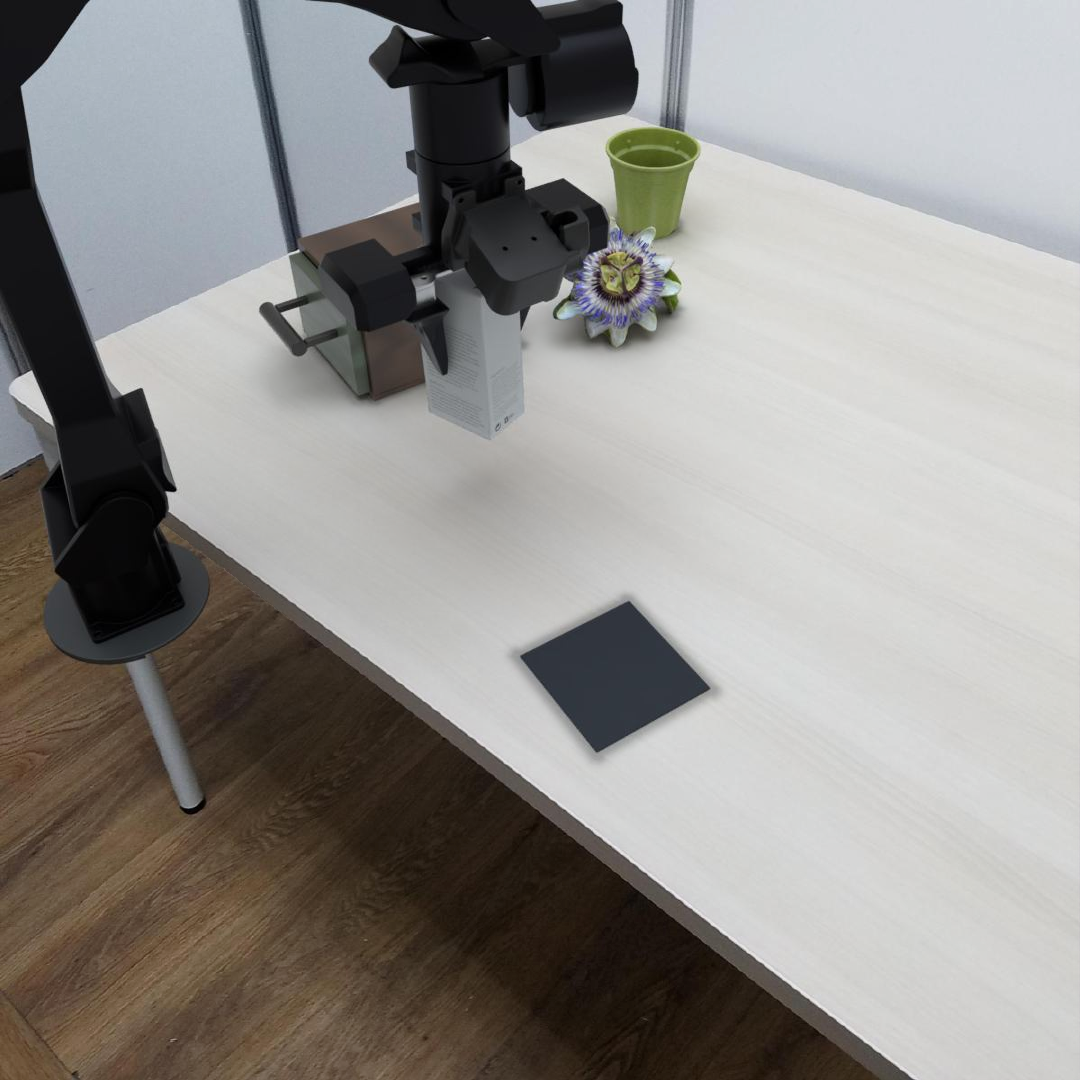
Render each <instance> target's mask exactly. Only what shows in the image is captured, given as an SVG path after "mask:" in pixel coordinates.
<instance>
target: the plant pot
mask: <svg viewBox="0 0 1080 1080" xmlns="http://www.w3.org/2000/svg"><path fill="white" fill-rule="evenodd" d="M604 146H605V149H604V150H605V153H606V155H607V157H608V158H609V163H610V167H611V169H612V173H613V183H614V189H615V190H614V191H615V200H616V201H615V202H616V211H617V220H618V221H617V222H618V228H619V229H621V230H623V231H624V232H623V234H625V235H626V236H628V235H629V234H631V233H632V232H634V231H637V232H639V231H641V230H643V229H646V228H648V227H654V228H655V230H656V235H655V238H654V239H653V240H661V239H663V238H667V237H669V236H670V235H671V234H672V233H673V232H674V231H676V230H677V228H678V224H679V220H680V216H681V212H682V207H683V204H684V200H685V199H684V198H685V195H686V190H687V186H688V182H689V178H690V174H691V172H692V171H693V169H694V166H695V162H696V161H697V160H698V159H699V158H700V155H701V151H702V147H701V144H700V143H699V141H698V140H697V139H696V138H695V137H693V136H692V135H691V134H688V133H686V132H684V131H681V130H678V129H673V128H668V127H660V126H659V127H658V126H642V127H634V128H633V127H632V128H627V129H624V130H621V131H619V132H616V133H615V134H614V135H612V136H610V137H609V138H608V139H607V141H606V143H605V145H604Z"/></svg>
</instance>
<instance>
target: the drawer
mask: <svg viewBox="0 0 1080 1080" xmlns="http://www.w3.org/2000/svg"><path fill="white" fill-rule="evenodd" d="M288 259H289V264H290V269H291V275H292V279H293V284H294V289H295V295H296V297H294V298H292V299H289V300H286V301H282V302H280V303H279V302H278V303H276V304H274V303H273V302H270V301H265V302H263V303H262V304H261V305H260V306H259V308H258V313H259V315H260V316H261V317H262V318H263V320H264V321H265V322H266V324H267V325H268V326H269V327H270V328H271V329H272V331H273V332H274V333H275V334H276V336H277V337H278V338H279V340H281V342H282V343H283V344H284V346H285V347H286V348H287V349H288V351H290V353H291V354H292V355H293V356H294V357H298V358H299V357H302V356H304V355H305V354H306V353H307V352H308V349H309V348H312V347H316V348H317V349H318V351H320V353H321V354H322V355H323V356H324V358H325V359H326V360H327V361H328V362H329V363H330V364H331V366H332V367H333V368H334V369H335V371H336V372H337V373H338V374H339V375H340V377H342V379H343V380H344V381H345V382H346V384H348V386H349V387H350V388H351V390H353V392H354V393H355V394H356V395H357V396H358V397H359V396H362V395H365V394H368V393H367V392H370V391H371V390H370V384H369V377H368V370H367V364H366V357H365V350H364V344H363V337H362V331H357V330H356V329H355V328H354V327H353V326H352V325H351V324H350V323H349V321H348V320H347V319H346V318H345V317H344V316H343V315H342V314H341V313H340V312H339V311H338V310H337V309H336V307H335V306H334V305H333V304H332V303H331V302H330V301H329V300H328V299H327V298H326V297H325V296H324V295H323V294H322V292H321V287H320V281H319V275H318V269H317V268H316V267H315V266H314V265H313V264H312V263H311V262H310V260H309V259H308V258H307V257H306V256H305V255H304V254H303V253H302V252H299V251H298V252H295V253H292V254H289V255H288ZM294 309H298V310H299V314H300V319H301V325H302V331H303V333H304V334H305V335H306V336H307V337H305V338H302V336H301V335H300V334H299V333H298V332H297V330H296V329H295V328H294V327H293V326H292V325H291V324H290V322H289V321H288V320H287V319H286V317H284V315H283V314H282V313H285V312H288V311H291V310H294Z"/></svg>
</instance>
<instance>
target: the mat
mask: <svg viewBox="0 0 1080 1080" xmlns="http://www.w3.org/2000/svg"><path fill="white" fill-rule="evenodd" d="M520 659H521V660H522V661H523V663H524V664H525V665H526V666H527V668H528V669H529V671H531V672H532V674H533V675H534V676H535V677H536V679H537V681H539V683H540V684H541V685H542V687H544V689H545V690H546V692H548V694H549V695H550V697H552V699H553V700H554V702H555V703H556V704H557V705H558V706H559V708H560V709H561V710H562V712H563V713H564V714H565V715H566V716H567V718H568V719H569V721H570V722H571V723H572V724H573V725H574V727H575V728H576V729H577V730H578V732H579V733H580V734H581V735H582V737H583V738H584V739H585V741H587V743H588V744H589V746H590V747H591V748H592V750H594V752H595V753H599V752H601V751H603V750H605V749H606V748H608V747H610V746H612V745H614V744H615V743H617V742H619V741H620V740H623V739H624V738H626V737H628V736H630V735H631V734H633V733H634V732H636V731H638V730H640V729H642V728H644V727H646V726H647V725H649V724H651V723H653V722H655V721H656V720H658V719H660V718H662V717H663V716H666V715H667V714H668V713H670V712H672V711H674V710H676V709H678V708H680V707H681V706H683V705H684V704H686V703H688V702H690V701H692V700H693V699H696V698H697V697H698V696H700V695H702V694H704V693H706V692H708V691H709V690H711V687H710V686H709V685H708V683H706V682H705V680H704V679H703V678H702V677H701V676H700V675H699V674H698V673H697V672H696V670H695V669H693V667H692V666H691V665H690V664H689V663H688V662H687V661H686V660H685V659H684V658H683V656H681V655H680V653H678V651H677V650H676V649H675V648H674V646H672V645H671V644H670V643H669V642H668V641H667V639H666V638H664V636H663V635H662V634H661V633H660V632H659V631H658V630H657V628H655V626H654V625H652V623H650V621H649V620H648V619H647V618H646V617H645V616H644V615H643V614H642V612H641V611H639V610H638V608H637V607H636V606H635V605H634V604H633V603H632V602H631V601H630V600H627V601H626V602H623V603H621V604H620V605H617V606H616V607H614V608H611V609H609V610H607V611H605V612H603V613H601V614H599V615H597V616H596V617H594V618H591V619H590V620H588V621H586V622H584V623H582V624H580V625H577V626H576V627H573V628H572V629H570V630H567V631H566V632H564V633H562V634H560V635H558V636H556V637H554V638H552V639H550V640H548V641H546V642H545V643H544V642H543V644H542V643H541V644H540V645H538V646H536V647H534V648H532V649H530V650H529V651H527V652H525V653H523V654H520Z"/></svg>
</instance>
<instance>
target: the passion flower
mask: <svg viewBox="0 0 1080 1080" xmlns="http://www.w3.org/2000/svg"><path fill="white" fill-rule="evenodd" d="M608 216H609V219H610V234H609V244H608V247H607V248H606V249H603V250H600V251H597V252H594V253H592V254H589V255H587V256H586V259H585V261H583V263H584V268H583V270H581V271H578V272H576V273H573V274H570V275H567V276H564V277H563V279H565V280H566V281H568V282H570V283H573V284H572V288H570V292H569V294H568V295H567V297H565V298H562V299H561V301H560V302H559V303H557V305H556V306H555V307H554V308H553V311H552V317H553V319H554V320H558V321H565V320H569V319H572V318H574V317H576V316H577V315H581V316H583V321H584V323H583V324H584V329H585V333H586V335H587V336H586V337H588V340H590V341H592V339H595V338H597V337H598V336H599V335H600V334H604V335H605V336H606V337H607V339H608V340H609V341H608V342H609V343H610V345H611V346H612V347H614V348H619V347H621V346H622V345H623V344H624V342H625V340H626V338H627V335H628V331H629V328H630V326H632V325H634V324H636V325H638V326H639V327H640V328H641V329H642V330H644V331H647V332H649V333H654V332H655V331H656V330H657V326H658V317H657V313H656V308H660V309H661V308H662V307H661V306H659V305H660V302H658V301H659V299H661V300H662V301H663V302H664V304H665V306H666V307H667V309H668V311H669V312H670V313H671V314H672V313H674V311H675V310H676V309H677V307H678V305H679V301H680V300H679V298H678V294H679V293H680V292H681V290H682V288H683V287H682V282H681V280H680V278H679V277H678V275H677V274H676V272H675V271H673V269H671V268H672V267H673V266H674V264H675V258H673V257H672V256H670V255H667V254H657V252H654V253H653V252H650V251H649V250H650V247H651V249H653V246H652V244H653V241H654V240H655V239H654V238H655V235H656V230H655V228H654V227H648V228H646V229H643V230H641V231H639V232H637V231H634V232H632V233H631V234H629V235H625V237H624V238H623V235H624V231H623V230H621V229H620V227H619V225H618V224H617V222H616V219H615V217H614V216H612V215H610V214H608ZM631 236H632V237H631Z"/></svg>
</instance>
